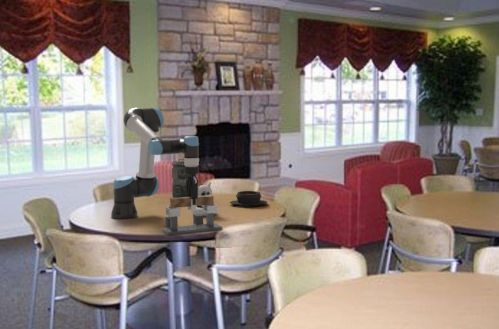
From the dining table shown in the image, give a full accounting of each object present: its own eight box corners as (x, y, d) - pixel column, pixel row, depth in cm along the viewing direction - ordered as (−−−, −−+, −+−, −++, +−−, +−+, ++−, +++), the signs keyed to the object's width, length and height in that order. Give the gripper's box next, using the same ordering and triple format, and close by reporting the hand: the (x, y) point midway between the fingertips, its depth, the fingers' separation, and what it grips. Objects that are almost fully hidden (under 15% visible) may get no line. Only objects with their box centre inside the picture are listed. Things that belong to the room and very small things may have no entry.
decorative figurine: (193, 217, 315) (193, 183, 313) (190, 212, 329) (190, 180, 327) (218, 216, 319) (218, 183, 316) (214, 211, 333) (214, 179, 330)
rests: (168, 228, 288) (168, 218, 288) (165, 226, 293) (165, 217, 292) (203, 224, 297) (203, 215, 296) (200, 222, 301) (200, 213, 301)
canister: (168, 199, 373) (168, 159, 370) (178, 195, 388) (177, 157, 385) (189, 200, 369) (189, 160, 366) (198, 197, 384) (198, 158, 381)
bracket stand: (167, 235, 272) (167, 210, 271) (161, 231, 281) (161, 206, 280) (222, 229, 285) (222, 205, 283) (215, 225, 294) (215, 202, 292)
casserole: (265, 202, 364) (265, 190, 363) (269, 207, 346) (269, 194, 345) (228, 202, 362) (228, 190, 361) (230, 208, 343) (230, 195, 343)
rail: (172, 208, 275) (172, 199, 274) (170, 206, 279) (170, 198, 278) (213, 204, 284) (213, 196, 284) (210, 203, 288) (210, 195, 288)
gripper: (204, 167, 273) (204, 212, 276) (193, 163, 288) (193, 206, 291) (190, 168, 270) (190, 213, 272) (179, 164, 285) (180, 207, 288)
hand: (192, 210), depth 282 cm, fingers closed on rail, 4 cm apart
